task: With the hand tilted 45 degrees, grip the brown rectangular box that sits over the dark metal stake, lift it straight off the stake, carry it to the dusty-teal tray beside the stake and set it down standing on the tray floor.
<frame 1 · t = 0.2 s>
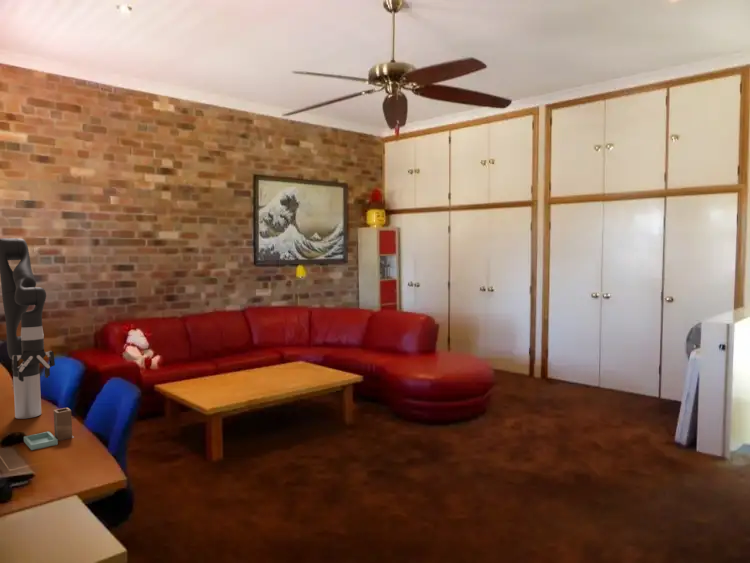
hand: (34, 379, 218), 18 cm above the table, tool pointing down, fingers open, 8 cm apart
tray: (40, 444, 196), on the table
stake: (63, 438, 202), on the table
brown rectangular box: (63, 437, 202), point 1 cm above the table, touching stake
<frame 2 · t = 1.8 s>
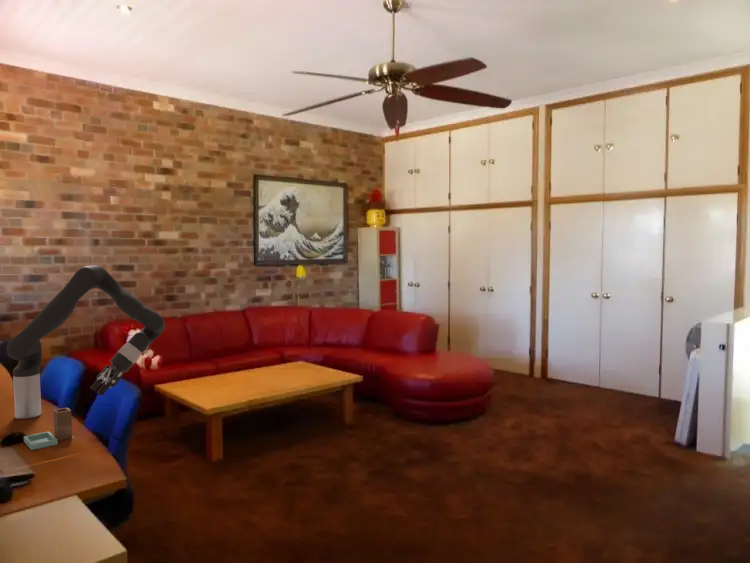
hand: (95, 391, 209), 15 cm above the table, tool tilted 45°, fingers open, 8 cm apart
nothing on the table moved.
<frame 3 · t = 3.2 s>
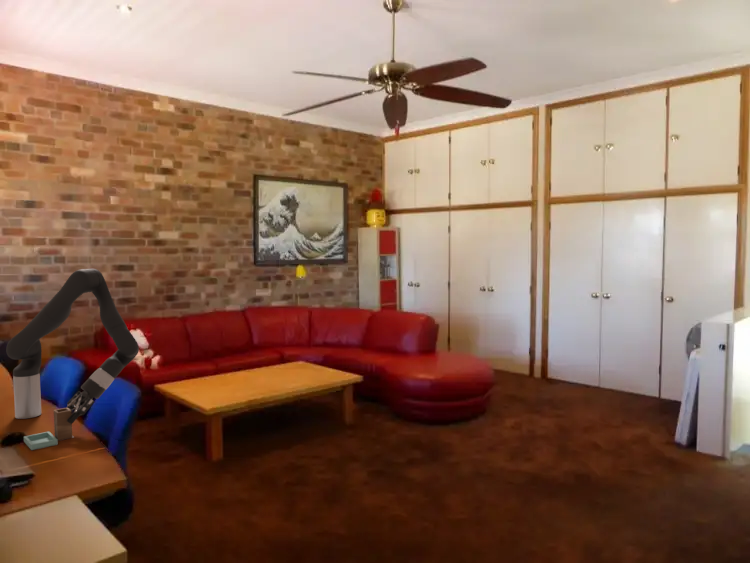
hand: (65, 419, 202), 7 cm above the table, tool tilted 45°, fingers open, 8 cm apart
nothing on the table moved.
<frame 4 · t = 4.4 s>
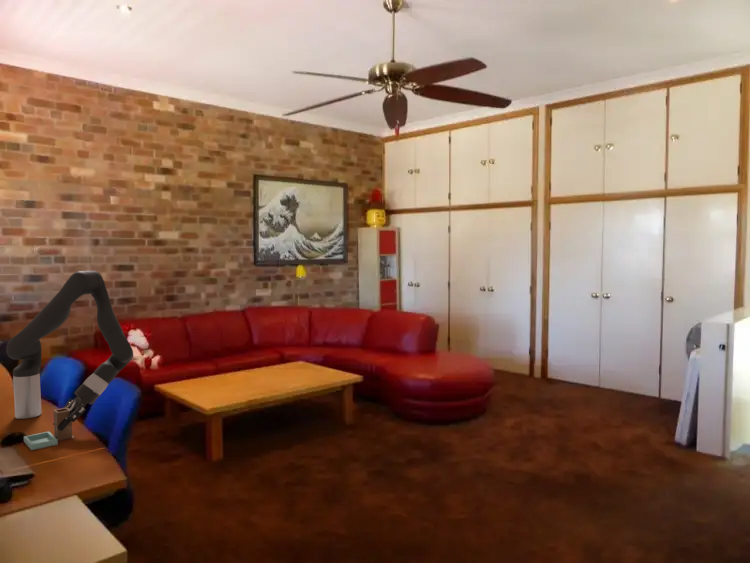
hand: (57, 427, 200), 5 cm above the table, tool tilted 45°, fingers closed on brown rectangular box, 4 cm apart
brown rectangular box: (63, 437, 202), point 1 cm above the table, touching gripper, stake
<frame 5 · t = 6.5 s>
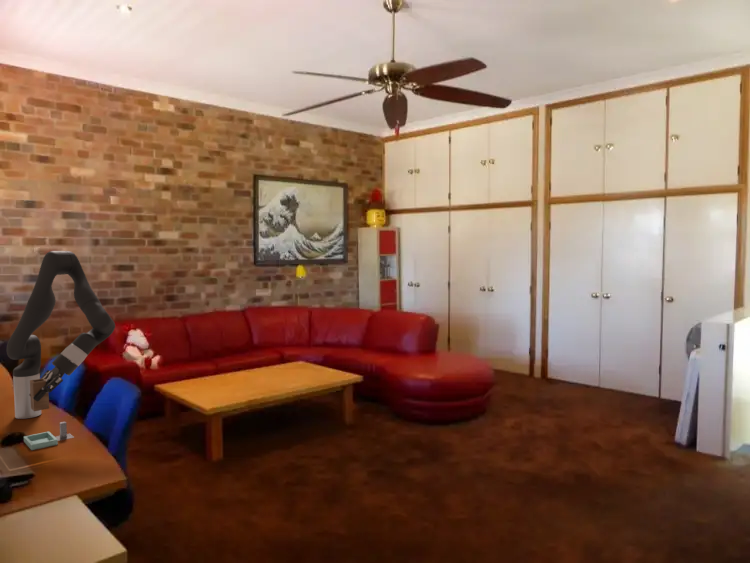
hand: (33, 398, 194), 17 cm above the table, tool tilted 45°, fingers closed on brown rectangular box, 4 cm apart
brown rectangular box: (40, 408, 195), point 13 cm above the table, touching gripper
when the fingers open (7 cm above the table, at t = 8.9 s): brown rectangular box drops 2 cm, resting on tray.
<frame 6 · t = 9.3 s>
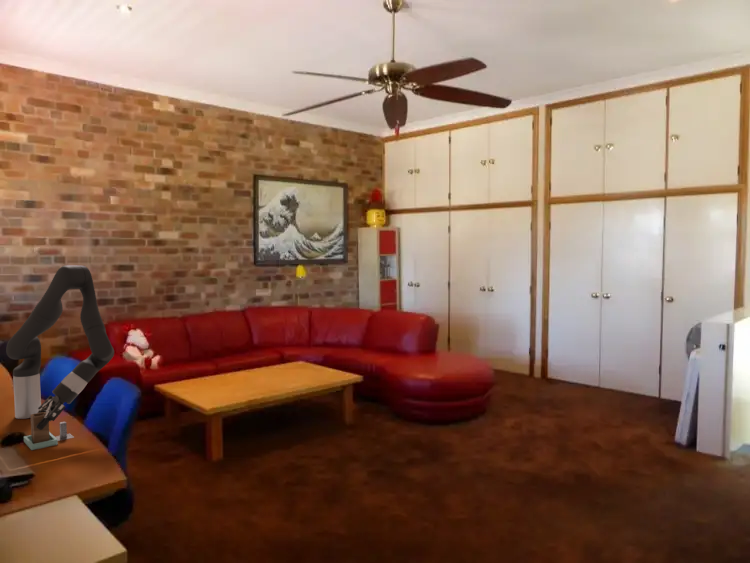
hand: (35, 425, 195), 7 cm above the table, tool tilted 45°, fingers open, 8 cm apart
brown rectangular box: (40, 442, 196), point 1 cm above the table, touching tray
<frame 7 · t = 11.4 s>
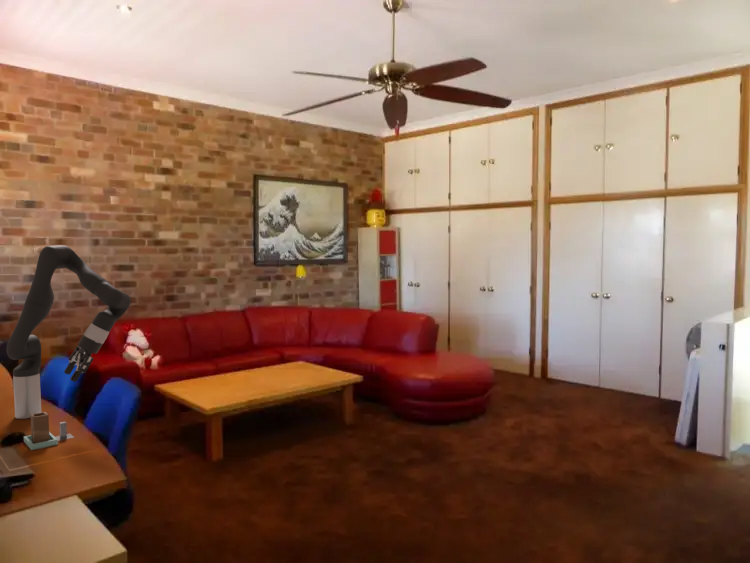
hand: (69, 377, 206), 21 cm above the table, tool tilted 30°, fingers open, 8 cm apart
nothing on the table moved.
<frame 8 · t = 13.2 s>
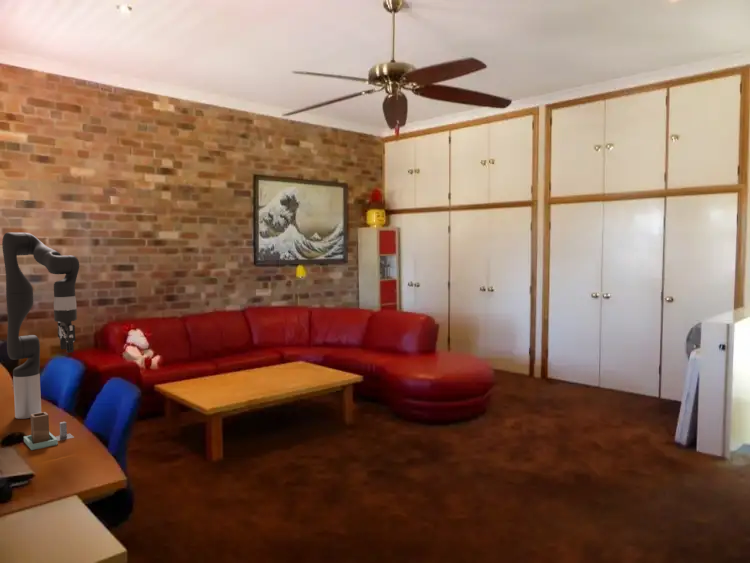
hand: (67, 350, 211), 30 cm above the table, tool pointing down, fingers open, 8 cm apart
nothing on the table moved.
at the end: brown rectangular box inside the target area on the tray (0.1 cm from its centre), point 0.8 cm above the tray's base; brown rectangular box tilted 0°; the gripper is holding nothing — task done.
